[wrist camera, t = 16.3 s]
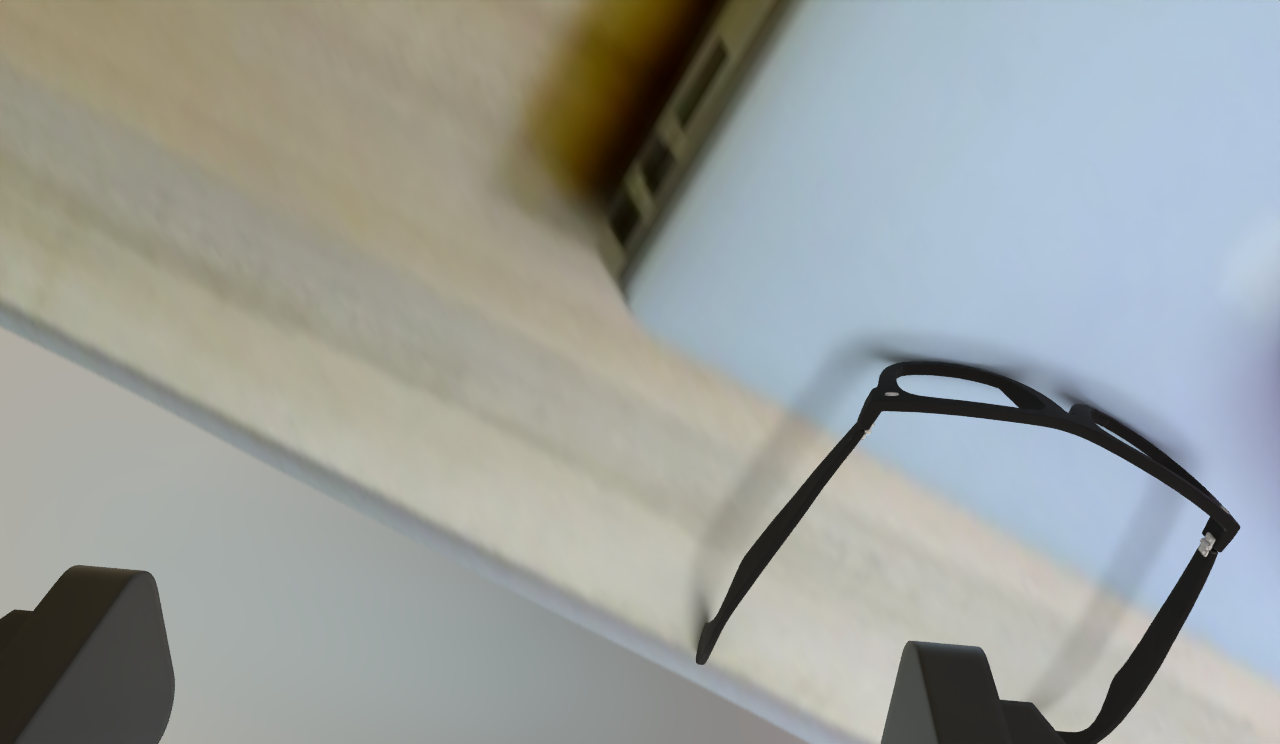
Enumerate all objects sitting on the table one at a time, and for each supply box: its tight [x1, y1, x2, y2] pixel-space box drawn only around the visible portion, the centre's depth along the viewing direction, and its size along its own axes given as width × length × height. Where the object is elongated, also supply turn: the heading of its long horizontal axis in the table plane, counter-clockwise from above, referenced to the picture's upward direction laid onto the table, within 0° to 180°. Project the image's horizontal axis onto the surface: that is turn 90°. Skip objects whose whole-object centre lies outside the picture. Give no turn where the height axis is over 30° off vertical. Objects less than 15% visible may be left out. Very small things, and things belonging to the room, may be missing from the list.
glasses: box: [696, 361, 1240, 744], centre depth 44 cm, size 17×18×5 cm
